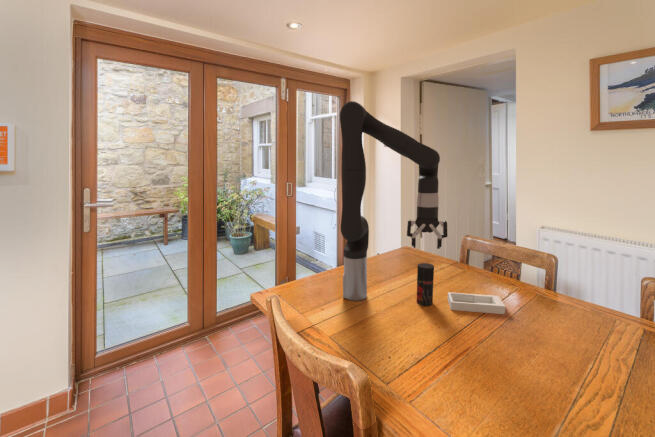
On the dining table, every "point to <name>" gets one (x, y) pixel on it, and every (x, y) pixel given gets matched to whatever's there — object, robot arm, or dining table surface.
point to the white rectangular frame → (476, 303)
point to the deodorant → (425, 284)
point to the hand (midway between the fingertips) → (426, 247)
